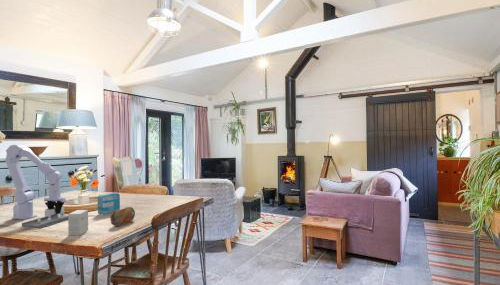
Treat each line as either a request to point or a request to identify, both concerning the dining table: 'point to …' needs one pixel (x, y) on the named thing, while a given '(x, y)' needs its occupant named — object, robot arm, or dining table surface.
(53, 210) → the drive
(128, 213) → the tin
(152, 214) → the dining table surface
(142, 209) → the dining table surface
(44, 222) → the pin tray
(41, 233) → the dining table surface
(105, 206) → the blue box
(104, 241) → the dining table surface
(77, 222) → the small box
